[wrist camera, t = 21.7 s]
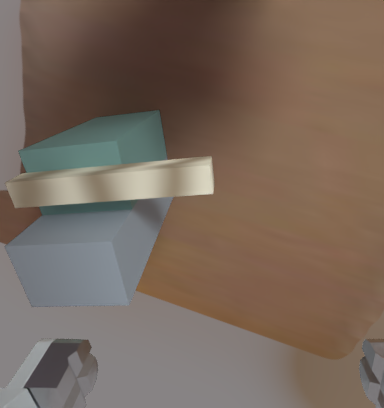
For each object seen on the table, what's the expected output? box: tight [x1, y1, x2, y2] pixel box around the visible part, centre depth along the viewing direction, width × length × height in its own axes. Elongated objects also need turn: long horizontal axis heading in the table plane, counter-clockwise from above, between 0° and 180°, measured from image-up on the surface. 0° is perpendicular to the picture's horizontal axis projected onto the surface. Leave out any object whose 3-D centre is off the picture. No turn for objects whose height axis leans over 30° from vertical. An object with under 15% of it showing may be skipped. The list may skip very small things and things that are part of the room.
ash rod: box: [5, 156, 214, 208], centre depth 28 cm, size 19×3×3 cm, turn 97°
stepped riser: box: [5, 110, 173, 307], centre depth 37 cm, size 10×14×25 cm
